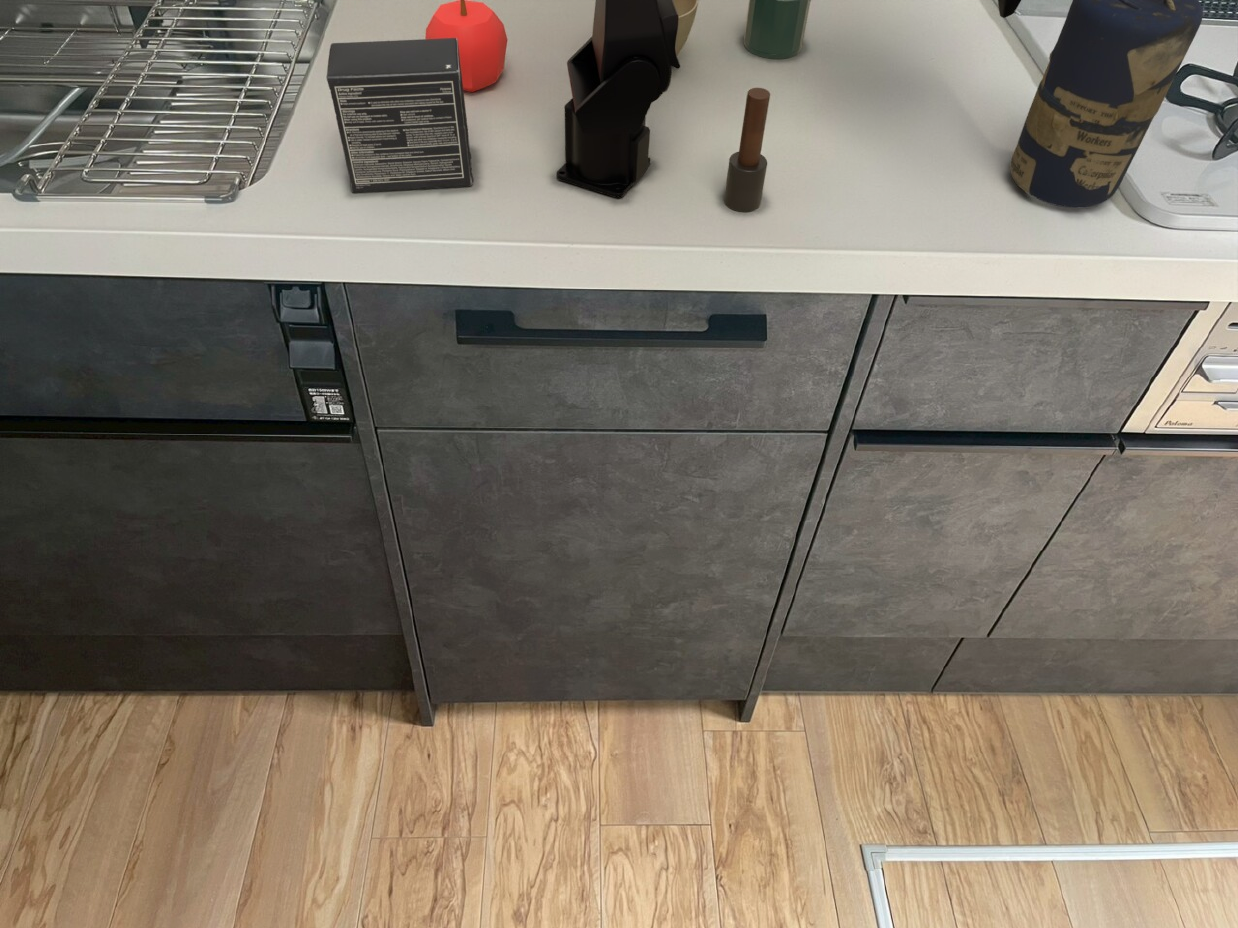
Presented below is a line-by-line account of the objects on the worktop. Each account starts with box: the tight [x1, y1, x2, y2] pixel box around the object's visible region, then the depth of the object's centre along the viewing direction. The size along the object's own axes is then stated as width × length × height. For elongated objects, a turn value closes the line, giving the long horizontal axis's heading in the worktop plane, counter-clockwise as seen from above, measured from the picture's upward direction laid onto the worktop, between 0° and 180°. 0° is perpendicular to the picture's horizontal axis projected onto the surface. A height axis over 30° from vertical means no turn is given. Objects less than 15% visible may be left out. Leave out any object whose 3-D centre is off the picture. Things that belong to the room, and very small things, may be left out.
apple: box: [424, 0, 509, 93], centre depth 91 cm, size 8×8×8 cm
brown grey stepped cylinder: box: [723, 87, 771, 213], centre depth 78 cm, size 3×3×10 cm
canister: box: [1009, 0, 1204, 209], centre depth 78 cm, size 10×10×18 cm
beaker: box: [743, 0, 812, 60], centre depth 98 cm, size 6×6×6 cm
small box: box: [325, 38, 474, 194], centre depth 79 cm, size 11×6×10 cm, turn 98°
